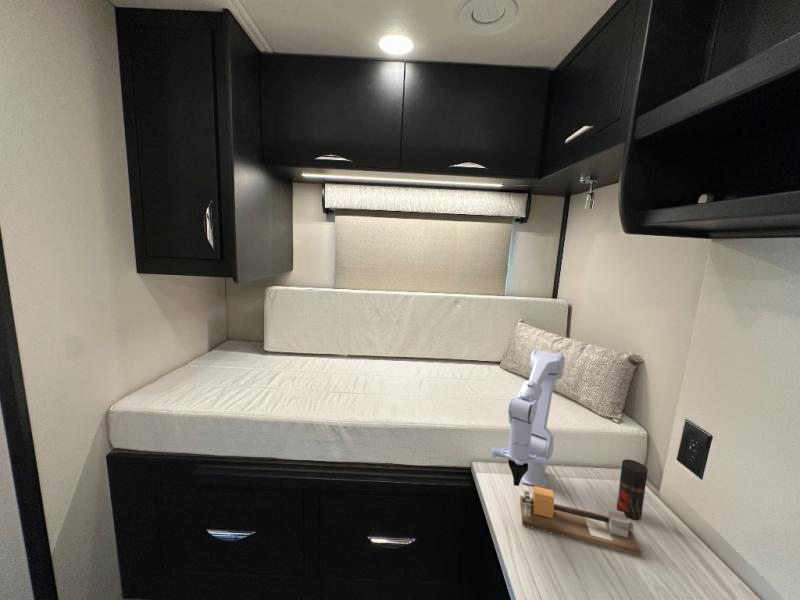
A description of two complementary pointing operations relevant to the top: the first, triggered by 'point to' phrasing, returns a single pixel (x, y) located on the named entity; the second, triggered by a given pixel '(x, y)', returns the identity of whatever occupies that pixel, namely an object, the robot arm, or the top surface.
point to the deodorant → (632, 489)
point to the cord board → (584, 525)
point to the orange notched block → (543, 502)
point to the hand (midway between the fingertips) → (516, 483)
